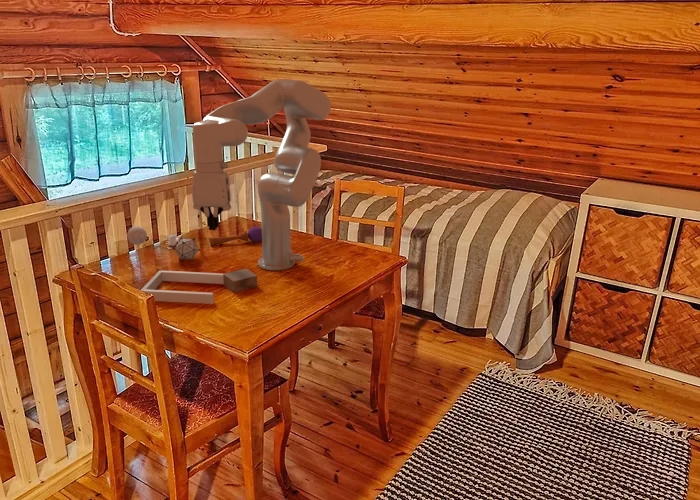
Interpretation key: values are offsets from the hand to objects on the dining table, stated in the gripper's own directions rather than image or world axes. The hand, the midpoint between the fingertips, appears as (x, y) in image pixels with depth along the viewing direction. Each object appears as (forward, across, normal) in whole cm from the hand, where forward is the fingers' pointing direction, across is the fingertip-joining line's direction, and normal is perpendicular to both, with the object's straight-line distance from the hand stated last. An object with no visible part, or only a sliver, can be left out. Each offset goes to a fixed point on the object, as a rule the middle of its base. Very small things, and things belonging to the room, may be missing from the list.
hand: (213, 228), depth 165 cm
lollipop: (+21, +29, -14) cm, 38 cm away
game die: (+21, +17, -24) cm, 36 cm away
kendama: (+21, +4, -43) cm, 48 cm away
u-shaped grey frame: (+20, +10, 0) cm, 23 cm away
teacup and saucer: (+21, +25, -40) cm, 52 cm away
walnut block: (+21, -6, -5) cm, 22 cm away
